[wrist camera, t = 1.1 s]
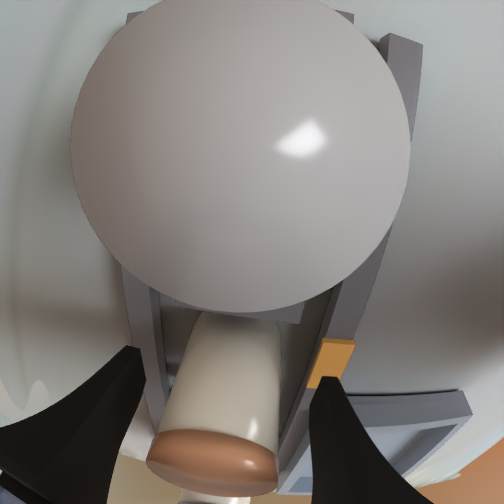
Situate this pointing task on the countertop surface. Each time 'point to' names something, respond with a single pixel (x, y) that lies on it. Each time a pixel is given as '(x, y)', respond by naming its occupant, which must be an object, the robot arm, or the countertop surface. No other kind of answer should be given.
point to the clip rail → (335, 320)
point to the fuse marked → (223, 410)
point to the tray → (390, 433)
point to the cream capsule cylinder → (240, 150)
